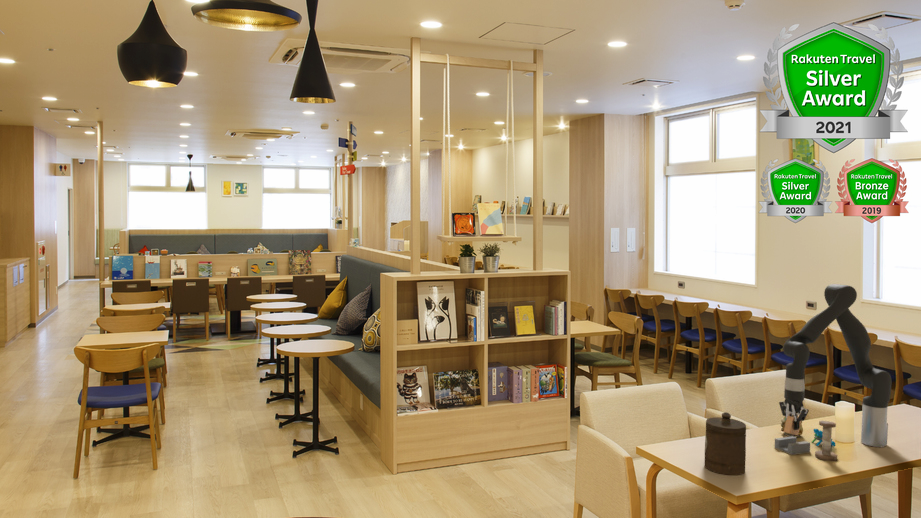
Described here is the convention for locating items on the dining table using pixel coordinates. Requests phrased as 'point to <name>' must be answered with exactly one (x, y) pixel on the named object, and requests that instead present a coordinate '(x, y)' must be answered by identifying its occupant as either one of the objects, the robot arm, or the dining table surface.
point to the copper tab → (790, 426)
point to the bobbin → (826, 442)
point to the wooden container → (725, 445)
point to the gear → (820, 437)
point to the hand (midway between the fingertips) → (792, 428)
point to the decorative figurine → (788, 433)
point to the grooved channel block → (792, 445)
